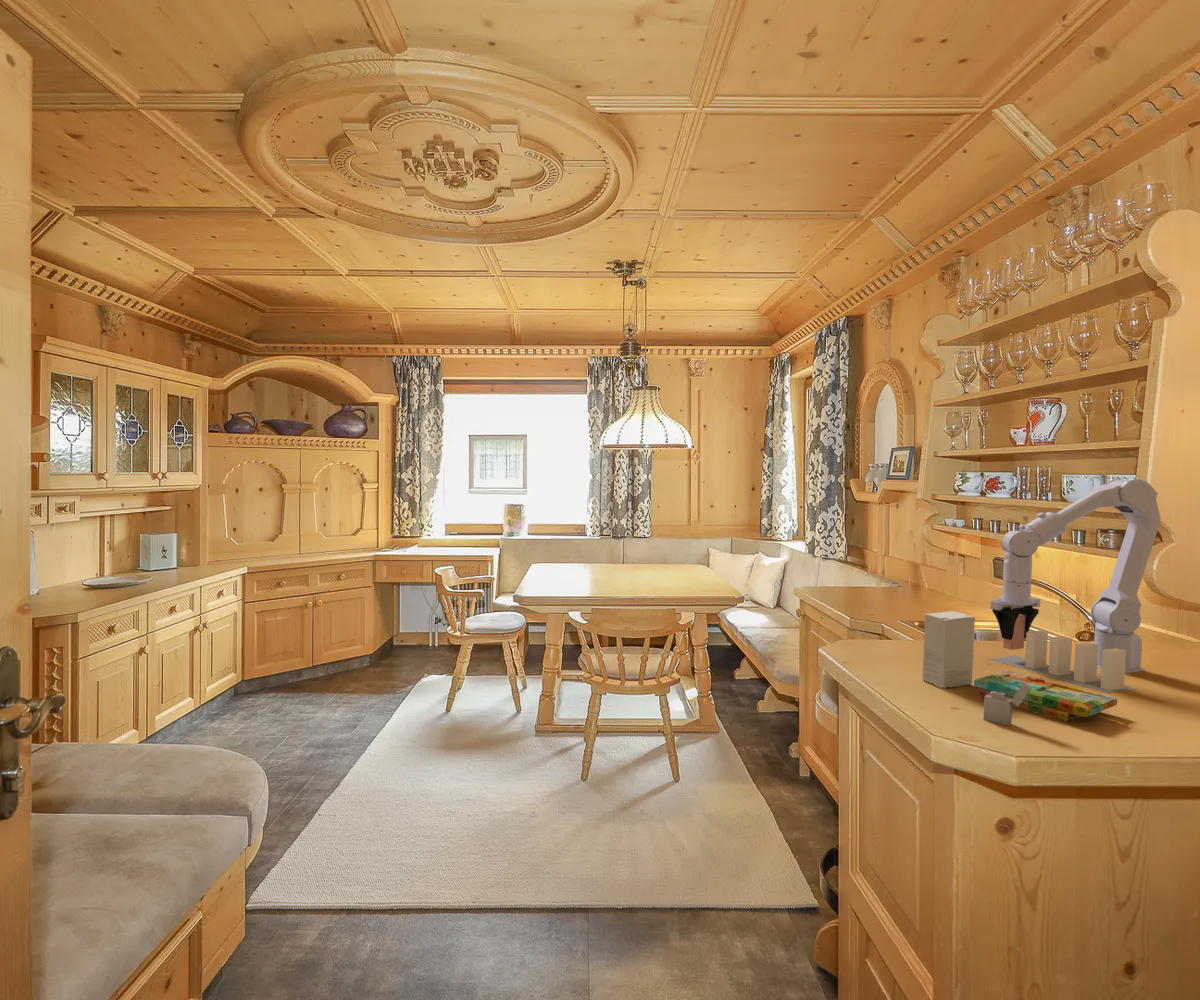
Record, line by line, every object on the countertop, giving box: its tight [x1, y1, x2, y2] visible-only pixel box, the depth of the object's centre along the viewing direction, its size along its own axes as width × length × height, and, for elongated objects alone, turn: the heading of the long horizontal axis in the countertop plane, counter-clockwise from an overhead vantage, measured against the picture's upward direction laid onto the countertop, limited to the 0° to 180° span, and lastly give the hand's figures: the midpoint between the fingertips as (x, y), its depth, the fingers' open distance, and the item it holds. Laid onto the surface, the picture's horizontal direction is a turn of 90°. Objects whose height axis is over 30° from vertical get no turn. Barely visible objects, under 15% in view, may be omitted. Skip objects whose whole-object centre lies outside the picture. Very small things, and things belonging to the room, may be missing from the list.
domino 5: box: [1100, 648, 1126, 691], centre depth 143 cm, size 4×2×8 cm, turn 113°
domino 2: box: [1024, 630, 1049, 669], centre depth 158 cm, size 4×2×8 cm, turn 113°
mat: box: [989, 655, 1136, 695], centre depth 154 cm, size 9×27×1 cm, turn 23°
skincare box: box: [921, 610, 976, 689], centre depth 145 cm, size 8×6×15 cm
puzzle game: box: [973, 670, 1118, 722], centre depth 132 cm, size 12×5×20 cm
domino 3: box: [1048, 635, 1073, 676], centre depth 153 cm, size 4×2×8 cm, turn 113°
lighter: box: [982, 682, 1032, 727], centre depth 122 cm, size 7×2×8 cm, turn 46°
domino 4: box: [1073, 641, 1098, 683], centre depth 148 cm, size 4×2×8 cm, turn 113°
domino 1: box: [1002, 614, 1025, 651], centre depth 163 cm, size 4×2×8 cm, turn 113°
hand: (1014, 638), depth 163 cm, fingers closed on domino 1, 4 cm apart
